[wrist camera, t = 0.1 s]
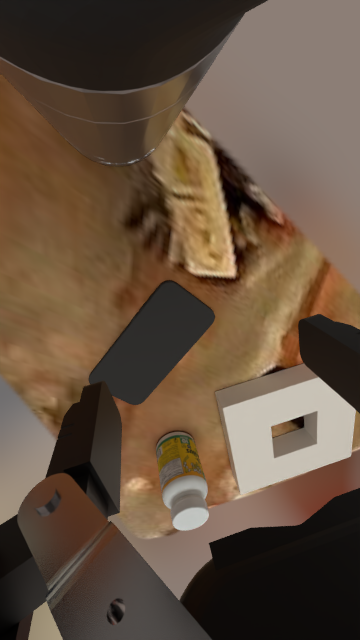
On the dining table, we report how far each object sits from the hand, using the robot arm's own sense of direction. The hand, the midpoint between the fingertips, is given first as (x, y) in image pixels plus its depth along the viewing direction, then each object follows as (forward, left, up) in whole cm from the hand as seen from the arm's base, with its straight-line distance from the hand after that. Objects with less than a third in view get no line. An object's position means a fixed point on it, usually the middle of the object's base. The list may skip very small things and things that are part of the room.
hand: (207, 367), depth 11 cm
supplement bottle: (+25, -4, -18) cm, 30 cm away
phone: (+9, -3, -18) cm, 20 cm away
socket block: (+27, +12, -17) cm, 34 cm away
